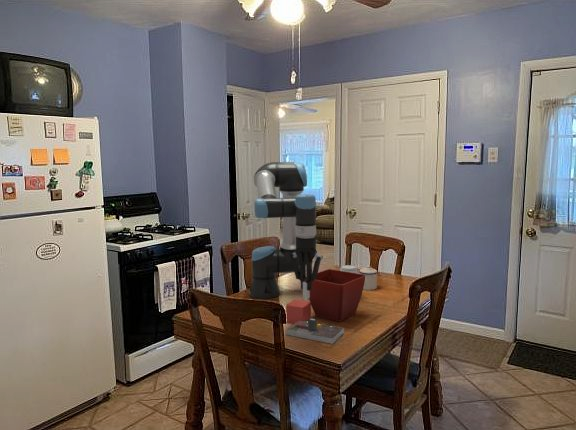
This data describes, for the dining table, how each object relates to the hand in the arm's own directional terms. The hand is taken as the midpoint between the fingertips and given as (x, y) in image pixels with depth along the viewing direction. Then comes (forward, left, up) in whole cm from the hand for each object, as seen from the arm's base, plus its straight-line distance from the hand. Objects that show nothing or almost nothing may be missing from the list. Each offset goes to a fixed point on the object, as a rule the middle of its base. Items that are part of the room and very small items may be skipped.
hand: (306, 298), depth 162 cm
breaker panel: (+3, +1, -14) cm, 14 cm away
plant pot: (+2, +23, -14) cm, 27 cm away
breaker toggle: (+3, 0, -12) cm, 12 cm away
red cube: (-9, +11, -14) cm, 20 cm away
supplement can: (-1, +47, -14) cm, 49 cm away
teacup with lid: (+1, +66, -14) cm, 68 cm away
